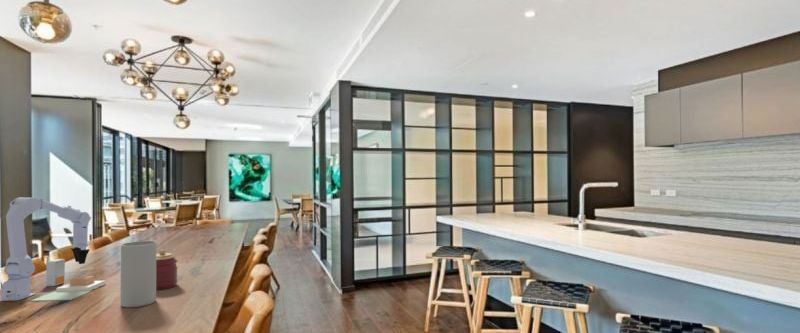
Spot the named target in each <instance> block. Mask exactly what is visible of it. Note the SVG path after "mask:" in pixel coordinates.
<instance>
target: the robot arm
mask: <svg viewBox="0 0 800 333" xmlns="http://www.w3.org/2000/svg"><path fill="white" fill-rule="evenodd" d="M39 210H45V211H48V212H52V213H56V214H57V216H58V217H59V218H61V219H65V220H68V221H70V222H71V223H72V224H73V226H72V232H73V234H72V248H70V250H71V251H72V253H73V256H74V261H75V262H76V263H78V265H83V264H85V263H86V260H87V256H88V254H89V252H90V249H89V248H88V249H87V247H88V246H91V243H89V242H88V239H89V238H88V237H89V236H88V233H89V232H88V226H89V223H90V221H91V219H92V217H91V216H90V214H89V212H88V211H87V212H86V211H81V209H75V208H73V207H72V205H64V206H60V205H57V204H56V203H53V202H50V201H48V200H45V199H43V198H38V197H34V196H33V197H22V196H19V197H16V198H13V200H11V201H10V202H9V209H8V211H7V213H6V215H5V220H6V223H5V224H6V229H7V230H6V231H7V239H8V240H7V241H8V250H9V257H8V258H7V259H6V260H5V261H6V262H5V267H4V273H5V274H6V275H7V278H8V279H7V280H6V281H4V282H3V283H2V284H1V287H0V288H1V291H0V292H1V298H0V302H3V301H4V302H5V301H6V302H7V301H8V302H9V301H21V300H24V299H26V298H30V297H31V296H35V295H36V293H37V292H31V291H32V290H31V285H32V279H31V278H32V275H33V274H34V272H35V269H36V266H35V264H34V263H33V260H32V259H33V258H31V256H30V255H28V250H27V240H26V232H25V222H24V221H25V219H26V218H27V217H28V216H29V215H31V214H33V213H35V212H37V211H39Z"/></svg>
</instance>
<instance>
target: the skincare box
mask: <svg viewBox="0 0 800 333" xmlns="http://www.w3.org/2000/svg"><path fill="white" fill-rule="evenodd" d="M65 263H66V258H56V259H52V260H49V261H46V275H45V279H46V280H45V281H46V282H45V283H46V285H45V286H46V287H55V286H58V285H62V284H65V273H66V272H65V268H66V264H65Z"/></svg>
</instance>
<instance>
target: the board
mask: <svg viewBox="0 0 800 333" xmlns="http://www.w3.org/2000/svg"><path fill="white" fill-rule="evenodd" d="M105 285H106V280H94V282H93V283H91V284H88V285H82V286H70V282H69V283H67V284H64V285H62V286H59V287H56V291H55V292H62V291H91V292H92V291H94V290H95V289H98V288H101V287H103V286H105ZM100 286H101V287H100ZM93 289H94V290H93Z"/></svg>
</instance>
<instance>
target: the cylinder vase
mask: <svg viewBox="0 0 800 333" xmlns="http://www.w3.org/2000/svg"><path fill="white" fill-rule="evenodd" d="M156 254H157V241H155V240H141V241H140V240H138V241H131V242H125V243H121V244H120V302H119V303H120V306H121V308H127V309H128V308H130V309H131V308H140V307H141V308H142V307H146V306H149V305H151V304H153V303H155V302H156V300H157V290H156Z"/></svg>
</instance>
